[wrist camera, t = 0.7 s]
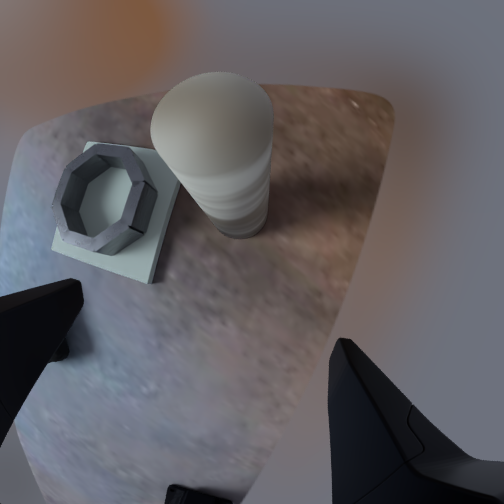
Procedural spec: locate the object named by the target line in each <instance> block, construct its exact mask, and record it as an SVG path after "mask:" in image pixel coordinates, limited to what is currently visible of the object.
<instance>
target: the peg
mask: <svg viewBox="0 0 504 504" xmlns="http://www.w3.org/2000/svg"><path fill="white" fill-rule="evenodd" d="M273 119H274V113H273V107H272V104H271V101H270V99H269V97H268V95H267V94H266V92H265V91H264V90H263V89H262V88H261V87H260V86H259V85H258V84H257V83H255V82H254V81H252V80H250V79H249V78H247V77H244V76H242V75H238V74H234V73H229V72H210V73H205V74H200V75H197V76H194V77H191V78H189V79H187V80H185V81H183V82H181V83H180V84H178V85H177V86H175V87H174V88H172V89H171V90H170V91H169V92H168V93H167V94H166V95H165V96H164V97H163V98H162V100H161V101H160V103H159V104H158V106H157V108H156V109H155V112H154V114H153V117H152V121H151V138H152V142H153V144H154V147H155V149H156V150H157V152H158V154H159V155H160V156H161V157H162V159H163V160H164V161H165V163H166V164H167V165H168V166H169V168H170V169H171V170H172V172H173V173H174V174H175V175H176V177H177V178H178V179H179V181H180V182H181V183H182V184H183V186H184V187H185V188H186V190H187V191H188V192H189V193H190V195H191V196H192V197H193V199H194V200H195V201H196V202H197V204H198V205H199V206H200V207H201V209H202V210H203V211H204V213H205V214H206V215H207V216H208V218H209V219H210V220H211V221H212V223H213V224H214V225H215V226H216V228H217V229H218V230H219V231H220V232H221V233H222V234H224V235H225V236H227V237H230V238H233V239H245V238H249V237H251V236H253V235H255V234H256V233H258V232H259V231H260V230H261V229H262V227H263V226H264V224H265V222H266V219H267V215H268V200H269V185H270V170H271V154H272V137H273Z"/></svg>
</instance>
